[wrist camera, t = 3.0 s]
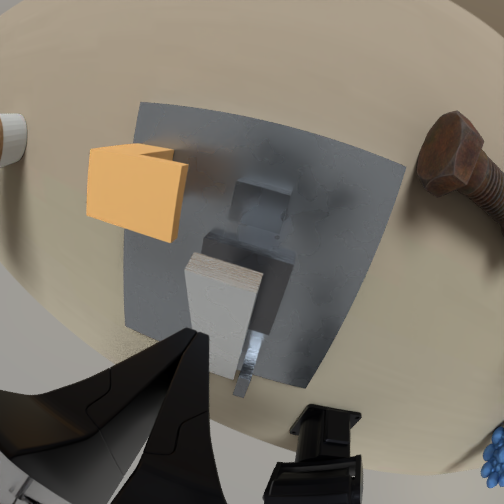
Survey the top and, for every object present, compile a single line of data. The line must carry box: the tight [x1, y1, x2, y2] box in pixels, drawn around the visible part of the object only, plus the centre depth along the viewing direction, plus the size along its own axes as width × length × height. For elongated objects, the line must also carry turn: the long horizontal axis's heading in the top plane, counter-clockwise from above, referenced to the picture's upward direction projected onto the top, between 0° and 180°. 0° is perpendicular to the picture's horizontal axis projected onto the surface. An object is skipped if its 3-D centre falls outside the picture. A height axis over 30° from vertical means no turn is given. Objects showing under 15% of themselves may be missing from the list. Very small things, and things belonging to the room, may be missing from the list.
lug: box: [87, 143, 189, 243], centre depth 16 cm, size 4×6×5 cm, turn 77°
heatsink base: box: [124, 102, 406, 398], centre depth 19 cm, size 20×18×5 cm
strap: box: [184, 252, 263, 380], centre depth 16 cm, size 14×3×1 cm, turn 167°
